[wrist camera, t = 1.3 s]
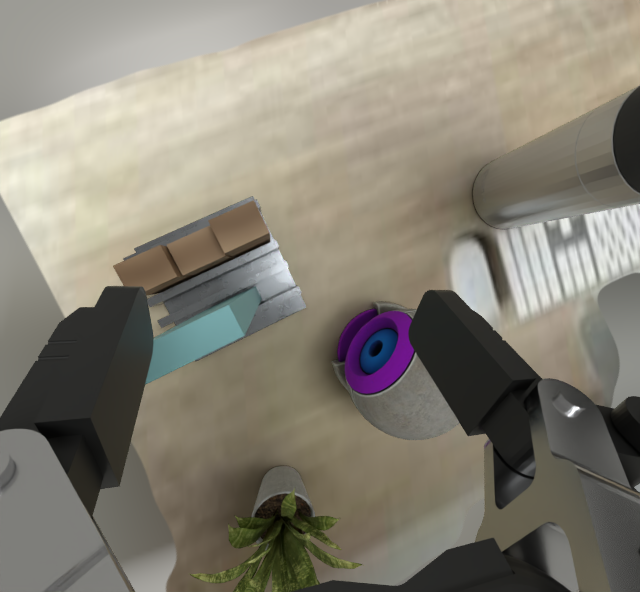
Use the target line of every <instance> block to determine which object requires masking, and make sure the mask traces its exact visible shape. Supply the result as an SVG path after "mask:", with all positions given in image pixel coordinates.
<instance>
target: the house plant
mask: <svg viewBox="0 0 640 592" xmlns="http://www.w3.org/2000/svg"><path fill="white" fill-rule="evenodd" d="M235 517H236V516H235ZM236 519H237V522H238V524H239V527H240V528H232V527H230V526H229V523H228V526H229V541H230V543H231V545H232V546H233V547H234V548H243V547H246V546H248V547H252V546H249V545H251V544H252V543H254V542H256V543H257V545H253V546H260V547H259V549H258V550H257V551H256V552H255V553H254V554H253V555H252V556H251V557H250V558H249V559H248V560H246V561H245V562H244V563H242V564H241V565H239V566H237V567H235V568H232V569H229V570H226V571H223V572H221V573H217V574H201V573H200V574H192V575H191V574H190V575H191V576H193V577H195V578H198V579H200V580H202V581H206V582H210V583H224V582H227V581H230V580H233V579H235V578H237V577H238V576H240V575H241V574H242V573H244V572H245V570H246V569H247V568H248V567H249V566H250V565H251V566H250V567H249V569H248V571H247V572H246V574H245V575H244V577H243V578H242V579H241V580H240V582H239V583H238V585H237V586H236V588H235V590H234V591H233V592H264V590H265V587H266V585H267V582H268V579H269V576H270V573H271V570H272V592H291V591H295V590H299V589H302V588H306V587H310V586H314V585H317V584H320V583H319V581H318V580H317V577H316V574H315V570H314V567H313V565H312V562H311V560H310V557H309V555H308V553H307V551H306V549H305V547H306V548H308V549H309V551H310V552H311V553H312V554H313V555H315V556H316V557H317V558H318V559H319V560H321V561H322V562H324V563H325V564H327V565H329V566H331V567H333V568H347V569H354V568H356V567H358V566H360V565H362V564H358V563H352V562H348V561H345V560H341V559H338V558H336V557H334V556H332V555H330V554H328V553H326V552H324V551H323V550H321V549H320V548H318V547H317V546H315V545H314V544H313V543H312V542H311V541H309V540H310V538H311V537H310V535H311V536H313V537H315V538H317V539H318V540H320V541H321V542H323V543H325V544H326V545H328V546H330V547H332V548H335V549H339V550H341V549H340V548H339V547H338V545H336V544H334V543H333V542H331V541H330V539H329V538H328V537H327V536H326V535H325V534H324V533H323V532H321V531H320V530H327V529H329V528H331V527H332V526H333V525H334V524H335V523H336V522H337V521H338V520H339V519H340V518H339V519H336V518H333V517H329V516H318V517H315V512H314V509H313V506H312V504H311V501H310V499H309V496H308V494H307V491H306V489H305V487H304V484H303V482H302V479H301V477H300V474H299V473H298V472H297V471H296V470H295V469H294V468H292V467H290V466H279V467H275V468H272V469H271V470H269V471H268V472H267V473H266V474H265V476H264V478H263V480H262V483H261V486H260V489H259V493H258V496H257V499H256V503H255V506H254V509H253V512H252V516H251V517H248V518H239V517H236ZM304 546H305V547H304ZM265 550H266V551H265ZM264 555H266V556H265V558H264V560H263V562H262V564H261V566H260V568H259V570H258V572H257V573H256V571H257V568H258V566H259V563H260V561H261V559H262V557H263V556H264ZM255 573H256V575H255V577H254V578H253V576H254V574H255ZM252 578H253V579H252Z"/></svg>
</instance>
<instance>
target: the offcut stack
mask: <svg viewBox="0 0 640 592" xmlns="http://www.w3.org/2000/svg"><path fill="white" fill-rule="evenodd" d="M208 222H209V224H210V226H207V227H205V228H203V229H201V230H199V231H196V232H194V233H192V234H190V235H187V236H185V237H183V238H181V239H178V240H176V241H174V242H172V243H169V244H167V246H163V245H159V246H156V247H154V248H152V249H150V250H147V251H145V252H143V253H141V254H138V255H136V256H134V257H132V258H129V259H127V260H125V261H123V262H120V263H118V264H116V265H114V266H113V267H114V269H115V271H116V272H117V274H118V276H119V278H120V280H121V281H122V283H123V285H124V286H142V287H143V288H144V289H145V292H146V295H151V294H157V293H162V292H164V291H166V290H168V289H170V288H172V287H175V286H177V285H179V284H181V283H183V282H185V281H188V280H190V279H192V278H194V277H196V276H198V275H201V274H203V273H205V272H207V271H209V270H211V269H214V268H216V267H218V266H220V265H222V264H224V263H227V262H229V261H231V260H233V259H235V258H237V257H240V256H242V255H244V254H246V253H248V252H250V251H253V250H255V249H257V248H259V247H261V246H263V245H266V244H268V243H270V232H269V230H268V228H267V226H266V224H265V222H264V220H263V218H262V216H261V214H260V212H259V209H258V207H257V205H256V203H255V201H254V200H253V201H251V202H249V203H246V204H244V205H242V206H240V207H237V208H235V209H233V210H231V211H228V212H226V213H224V214H222V215H219V216H217V217H215V218H213V219H210V220H208ZM234 257H235V258H234Z"/></svg>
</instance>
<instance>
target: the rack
mask: <svg viewBox="0 0 640 592" xmlns="http://www.w3.org/2000/svg"><path fill="white" fill-rule="evenodd" d="M253 200H254V201H255V203H256V205H257V207H258V209H259V212H260V214H261V216H262V213H261V208H260V205H259V203H258V201H257V199H256V200H255V199H254V197H253V196H252V197H249V198H247V199H245V200H243V201H240V202H238V203H236V204H234V205H231V206H229V207H227V208H225V209H222V210H220V211H218V212H216V213H213V214H211V215H209V216H207V217H204V218H202V219H200V220H198V221H195V222H193V223H191V224H189V225H186V226H184V227H182V228H179V229H177V230H175V231H173V232H170V233H168V234H166V235H164V236H161V237H159V238H157V239H155V240H152V241H150V242H148V243H146V244H143V245H141V246H139V247H137V248H134V249H135V251H136V253H135V254H133V255H130V256H128V257H126V258H124V259H123V260H124V261H125V260H127V259H129V258H132V257H134V256H136V255H138V254H141V253H143V252H145V251H147V250H150V249H152V248H154V247H156V246H159V245H163V246H167V244H169V243H172V242H174V241H176V240H178V239H181V238H183V237H185V236H187V235H190V234H192V233H194V232H196V231H199V230H201V229H203V228H205V227H207V226H210V224H209V222H208V220H210V219H213V218H215V217H217V216H219V215H222V214H224V213H226V212H228V211H231V210H233V209H235V208H237V207H240V206H242V205H244V204H246V203H249V202H251V201H253ZM262 218H263V216H262ZM263 220H264V218H263ZM264 222H265V220H264ZM265 224H266V222H265ZM266 226H267V224H266ZM267 228H268V226H267ZM268 230H269V228H268ZM269 232H270V230H269ZM234 258H235V257H234ZM288 268H289V266H288V264H287V261H286V260H285V261H284V259H283V257H282V255H281V253H280V251H279V245H278V243H277V241H276V240H274V239H273V237H272V235H271V233H270V243H268V244H266V245H263V246H261V247H259V248H257V249H255V250H253V251H250V252H248V253H246V254H244V255H242V256H240V257H237V258H235V259H233V260H231V261H229V262H227V263H224V264H222V265H220V266H218V267H216V268H214V269H211V270H209V271H207V272H205V273H203V274H201V275H198V276H196V277H194V278H192V279H190V280H188V281H185V282H183V283H181V284H179V285H177V286H175V287H172V288H170V289H168V290H166V291H164V292H162V293H159V294H157V295H155V296H153V297H151V298H149V299H147V303H148V305H149V306H150V307H152V306H156V305H160V304H163V303H164V304H165V306H166V308H167V310H168V312H169V314H170V315H168V316H166V317H164V318H162V319H160V320H158V323H159V325H160V326H161V328H162V327H164V326H166V325H168V324H171V323H173V322H174V323H175V325H176V326H177V325H179V324H181V323H182V322H184V321H186V320H188V319H190V318H192V317H194V316H195V315H197V314H199V313H201V312H203V311H205V310H207V309H208V308H210V307H212V306H215V305H217V304H219V303H221V302H223V301H225V300H227V299H229V298H231V297H233V296H236V295H238V294H240V293H242V292H244V291H246V290H248V289H250V288H252V287H255V286H256V288H257V290H258V292H259V294H260V296H261V298H262V299H261V301H260V304H259V306H258V308H257V310H256V312H255V314H254V317H253V319H252V321H251V323H250V325H249V327H248V330H247V332H246V334H245V336H243V337H241V338H239V339H237V340H235V341H233V342H231V343H229V344H227V345H225V346H223V347H221V348H219V349H217V350H215V351H213V352H211V353H209V354H207V355H205V356H202V357H200V358H198V359H196V360H195V361H198V360H200V359H202V358H204V357H206V356H208V355H210V354H212V353H214V352H216V351H218V350H220V349H222V348H224V347H226V346H228V345H230V344H232V343H235V342H237V341H239V340H241V339H243V338H245V337H247V336H249V335H251V334H253V333H255V332H257V331H259V330H261V329H263V328H265V327H267V326H269V325H271V324H273V323H275V322H277V321H279V320H281V319H283V318H285V317H287V316H289V315H291V314H294V313H296V312H298V311H300V310H302V309H304V308H306V305H305V303H304V301H303V299H302V297H301V295H300V294H301V291H300V288H299V286H297V285H296V284H295V282H294V280H293V278H292V276H291V274H290V272H289V270H288Z"/></svg>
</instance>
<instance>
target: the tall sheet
mask: <svg viewBox="0 0 640 592" xmlns="http://www.w3.org/2000/svg"><path fill="white" fill-rule="evenodd" d="M261 299H262V298H261V296H260V294H259V292H258V290H257V288H256V286H255V287H252V288H250V289H248V290H246V291H244V292H242V293H240V294H238V295H236V296H233V297H231V298H229V299H227V300H225V301H223V302H221V303H219V304H217V305H215V306H212V307H210V308H208V309H207V310H205V311H203V312H201V313H199V314H197V315H195V316H194V317H192V318H190V319H188V320H186V321H184V322H182V323H181V324H179V325H177V326H175V327H173V328H171V329H169V330H168V331H166V332H164V333H162V334H160V335H158V336H156V337H155V338H153V354H152V359H151V362H150V366H149V370H148V374H147V378H146V382H145V384H147V383H150V382H152V381H154V380H156V379H158V378H160V377H162V376H164V375H166V374H168V373H170V372H172V371H174V370H176V369H178V368H180V367H182V366H184V365H186V364H188V363H190V362H192V361H194V360H196V359H198V358H200V357H202V356H205V355H207V354H209V353H211V352H213V351H215V350H217V349H219V348H221V347H223V346H225V345H227V344H229V343H231V342H233V341H235V340H237V339H239V338H241V337H243V336H245V334H246V332H247V330H248V327H249V325H250V323H251V321H252V319H253V317H254V314H255V312H256V310H257V308H258V306H259V304H260V301H261Z"/></svg>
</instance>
